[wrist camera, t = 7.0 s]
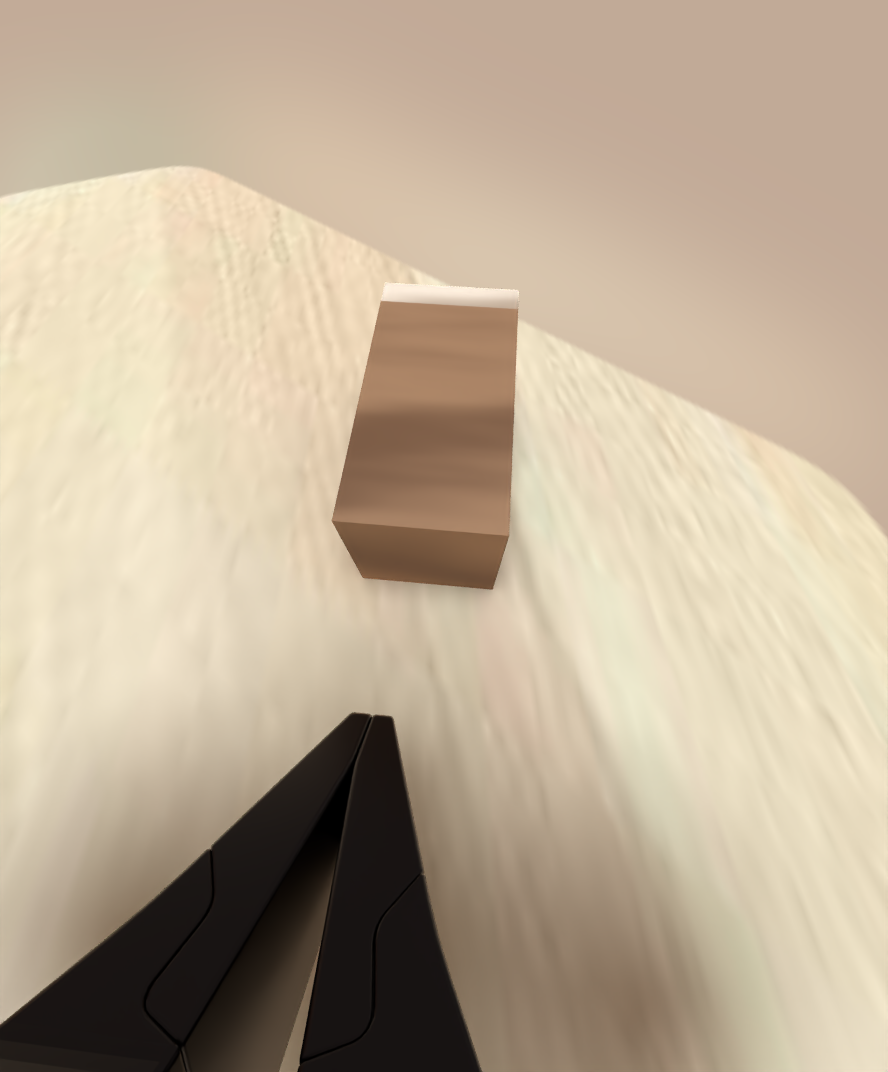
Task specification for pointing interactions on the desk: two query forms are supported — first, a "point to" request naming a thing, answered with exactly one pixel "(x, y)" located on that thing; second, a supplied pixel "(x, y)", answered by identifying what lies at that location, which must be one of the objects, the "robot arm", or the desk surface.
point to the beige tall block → (433, 438)
